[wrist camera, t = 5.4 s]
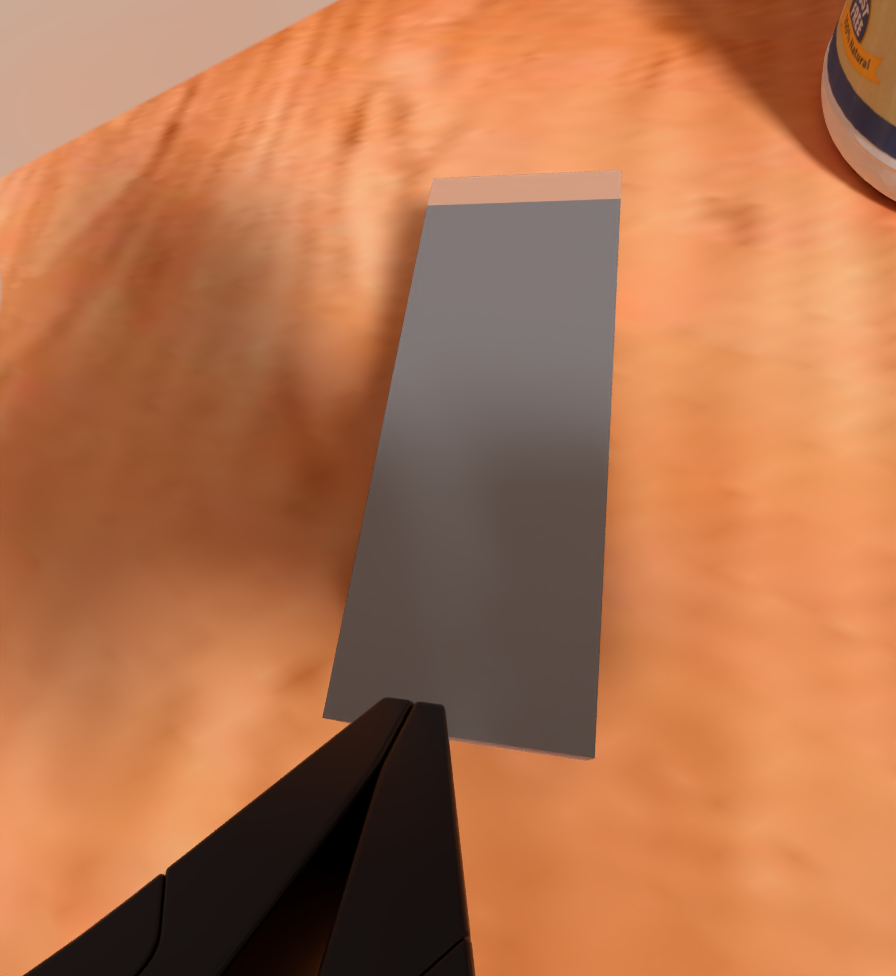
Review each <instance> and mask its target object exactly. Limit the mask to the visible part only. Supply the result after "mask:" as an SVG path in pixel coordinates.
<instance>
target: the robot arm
mask: <svg viewBox="0 0 896 976" xmlns="http://www.w3.org/2000/svg"><path fill="white" fill-rule="evenodd" d="M23 976H475V968H474V959H473V950H472V943H471V939H470V926H469V917H468V908H467V899H466V890H465V881H464V872H463V863H462V854H461V845H460V836H459V827H458V818H457V809H456V800H455V791H454V782H453V773H452V764H451V755H450V746H449V737H448V728H447V719H446V711H445V707H444V706H443V705H441V704H436V703H428V702H421V701H418V702H416V703H415V704H414V703H413V702H412V701H411V700H406V699H399V698H392V697H385V698H383V699H381V700H380V701H378V702H377V703H376V704H375V705H373V706H372V707H371V708H370V709H368V710H367V711H366V712H365V713H363V714H362V715H361V716H359V717H358V718H357V719H356V720H354V721H353V722H352V723H351V724H349V725H348V726H347V727H346V728H344V729H343V730H342V731H340V732H339V733H338V734H337V735H335V736H334V737H333V738H332V739H330V740H329V741H328V742H327V743H325V744H324V745H323V746H322V747H320V748H319V749H318V750H316V751H315V752H314V753H313V754H311V755H310V756H309V757H308V758H306V759H305V760H304V761H303V762H301V763H300V764H299V765H297V766H296V767H295V768H294V769H292V770H291V771H290V772H289V773H287V774H286V775H285V776H284V777H282V778H281V779H280V780H278V781H277V782H276V783H275V784H273V785H272V786H271V787H270V788H268V789H267V790H266V791H265V792H263V793H262V794H261V795H260V796H258V797H257V798H256V799H254V800H253V801H252V802H251V803H249V804H248V805H247V806H246V807H244V808H243V809H242V810H241V811H239V812H238V813H237V814H235V815H234V816H233V817H232V818H230V819H229V820H228V821H227V822H225V823H224V824H223V825H222V826H220V827H219V828H218V829H217V830H215V831H214V832H213V833H211V834H210V835H209V836H208V837H206V838H205V839H204V840H203V841H201V842H200V843H199V844H198V845H196V846H195V847H194V848H192V849H191V850H190V851H189V852H187V853H186V854H185V855H184V856H182V857H181V858H180V859H179V860H177V861H176V862H175V863H173V864H172V865H171V866H170V867H168V868H167V870H166V874H165V875H164V874H159V875H158V876H157V877H155V878H154V879H153V880H152V881H150V882H149V883H148V884H147V885H145V886H144V887H143V888H141V889H140V890H139V891H138V892H136V893H135V894H134V895H133V896H131V897H130V898H129V899H127V900H126V901H125V902H123V903H122V904H121V905H120V906H118V907H117V908H116V909H114V910H113V911H112V912H110V913H109V914H108V915H106V916H105V917H104V918H102V919H101V920H100V921H98V922H97V923H96V924H94V925H93V926H92V927H91V928H89V929H88V930H87V931H85V932H84V933H83V934H81V935H80V936H79V937H77V938H76V939H74V940H73V941H71V942H70V943H69V944H67V945H66V946H64V947H63V948H61V949H60V950H59V951H57V952H56V953H54V954H53V955H52V956H50V957H49V958H47V959H46V960H44V961H43V962H42V963H40V964H39V965H37V966H36V967H34V968H33V969H32V970H30V971H29V972H27V973H26V974H24V975H23Z"/></svg>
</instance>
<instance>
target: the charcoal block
mask: <svg viewBox="0 0 896 976" xmlns="http://www.w3.org/2000/svg"><path fill="white" fill-rule="evenodd" d="M621 179H622V170H608V171H586V172H564V173H541V174H519V175H497V176H474V177H452V178H433V180H432V185H431V190H430V195H429V200H428V205H427V210H426V215H425V219H424V224H423V229H422V234H421V239H420V244H419V249H418V254H417V258H416V263H415V268H414V273H413V278H412V283H411V288H410V293H409V298H408V302H407V307H406V312H405V317H404V322H403V327H402V332H401V337H400V342H399V346H398V351H397V356H396V361H395V366H394V371H393V376H392V381H391V385H390V390H389V395H388V400H387V405H386V410H385V415H384V420H383V425H382V429H381V434H380V439H379V444H378V449H377V454H376V459H375V464H374V469H373V473H372V478H371V483H370V488H369V493H368V498H367V503H366V508H365V512H364V517H363V522H362V527H361V532H360V537H359V542H358V547H357V552H356V556H355V561H354V566H353V571H352V576H351V581H350V586H349V591H348V596H347V600H346V605H345V610H344V615H343V620H342V625H341V630H340V635H339V639H338V644H337V649H336V654H335V659H334V664H333V669H332V674H331V679H330V683H329V688H328V693H327V698H326V703H325V708H324V713H323V718H326V719H331V720H336V721H341V722H346V723H352V722H353V721H354V720H356V719H357V718H358V717H359V716H361V715H362V714H363V713H365V712H366V711H367V710H368V709H370V708H371V707H372V706H373V705H375V704H376V703H377V702H378V701H380V700H381V699H383V698H385V697H392V698H399V699H406V700H411V701H412V702H413V703H414V704H415V703H416V702H418V701H421V702H428V703H436V704H441V705H443V706H444V707H445V711H446V719H447V728H448V737H449V740H452V741H459V742H465V743H472V744H479V745H485V746H492V747H499V748H505V749H512V750H519V751H525V752H532V753H539V754H546V755H552V756H559V757H566V758H572V759H579V760H590V759H593V758H595V739H596V718H597V696H598V675H599V653H600V631H601V610H602V588H603V567H604V545H605V524H606V502H607V481H608V459H609V438H610V416H611V395H612V373H613V352H614V330H615V309H616V287H617V265H618V244H619V222H620V201H621Z"/></svg>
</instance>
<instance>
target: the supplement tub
mask: <svg viewBox="0 0 896 976" xmlns="http://www.w3.org/2000/svg"><path fill="white" fill-rule="evenodd" d="M821 100H822V108H823V114H824V118H825V122H826V125H827V128H828V130H829V133H830V135H831V138H832V140H833V142H834V143H835V145H836V147H837V148H838V150H839V151H840V153H841V154H842V156H843V158H844V159H845V160H846V161H847V162H848V163H849V165H850V166H851V167H852V168H853V169H854V170H855V171H856V172H857V173H858V174H859V175H860V176H861V177H862V178H863V179H864V180H865V181H867V182H868V183H869V184H870V185H872V186H873V187H874V188H875V189H877V190H878V191H879V192H881V193H882V194H884V195H885V196H887V197H888V198H890V199H892V200H894V201H896V0H846V1H845V4H844V7H843V9H842V12H841V15H840V18H839V20H838V23H837V26H836V28H835V31H834V33H833V35H832V37H831V39H830V41H829V43H828V46H827V49H826V53H825V57H824V62H823V72H822V81H821Z"/></svg>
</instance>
